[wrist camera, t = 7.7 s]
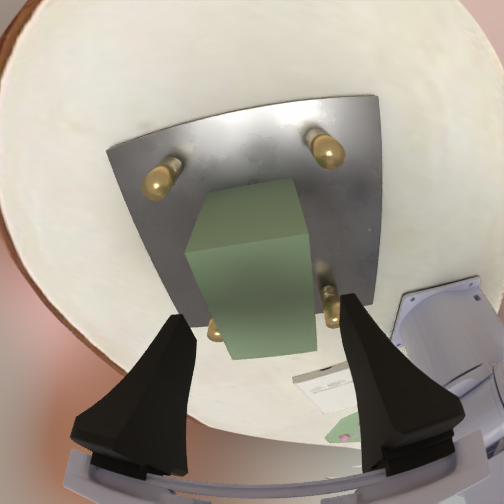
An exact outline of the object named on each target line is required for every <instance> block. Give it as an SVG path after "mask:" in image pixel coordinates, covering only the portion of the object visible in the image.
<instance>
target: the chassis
mask: <svg viewBox="0 0 504 504" xmlns="http://www.w3.org/2000/svg"><path fill="white" fill-rule="evenodd" d="M106 152H107V155H108V158H109V161H110V164H111V166H112V169H113V172H114V174H115V177H116V180H117V182H118V185H119V187H120V190H121V192H122V195H123V197H124V200H125V202H126V204H127V207H128V209H129V212H130V214H131V216H132V219H133V221H134V223H135V226H136V228H137V230H138V232H139V234H140V237H141V239H142V241H143V243H144V245H145V248H146V250H147V252H148V254H149V256H150V258H151V260H152V262H153V264H154V266H155V268H156V270H157V272H158V274H159V276H160V278H161V280H162V282H163V284H164V286H165V288H166V290H167V292H168V294H169V296H170V298H171V300H172V302H173V303H174V305H175V307H176V309H177V311H178V313H179V314H183V316H184V318H185V320H186V321H187V323H188V325H189V327H190V328H191V327H205V326H209V327H208V333H207V337H208V338H209V339H210V340H211V341H214V342H223V339H222V337H221V335H220V333H219V331H218V328H217V326H216V324H215V322H214V320H213V318H212V315H211V313H210V311H209V309H208V307H207V304H206V302H205V300H204V298H203V295H202V293H201V291H200V289H199V286H198V284H197V282H196V279H195V277H194V275H193V272H192V270H191V268H190V265H189V263H188V260H187V258H186V255H185V250H186V248H187V245H188V242H189V239H190V237H191V234H192V231H193V229H194V226H195V224H196V221H197V218H198V216H199V213H200V211H201V208H202V206H203V203H204V201H205V198H206V196H207V193H210V192H214V191H219V190H224V189H230V188H235V187H240V186H246V185H251V184H257V183H263V182H269V181H275V180H281V179H287V178H293V181H294V184H295V188H296V191H297V195H298V198H299V201H300V205H301V208H302V212H303V215H304V219H305V223H306V226H307V230H308V234H309V243H310V253H311V264H312V276H313V288H314V302H315V314H319V313H324V316H325V321H326V325H327V327H329V328H332V329H334V328H339V327H340V326H339V318H340V295H344V294H350V293H355V294H356V295H357V297H358V299H359V300H360V302H361V303H362V305H363V306H366V305H371V304H373V298H374V291H375V284H376V275H377V266H378V256H379V245H380V231H381V213H382V141H381V123H380V110H379V99H378V96H374V95H370V96H344V97H329V98H317V99H308V100H299V101H291V102H283V103H276V104H270V105H264V106H258V107H252V108H247V109H242V110H237V111H232V112H227V113H223V114H218V115H214V116H210V117H206V118H202V119H198V120H194V121H190V122H187V123H183V124H179V125H176V126H173V127H169V128H166V129H163V130H159V131H156V132H153V133H150V134H147V135H144V136H141V137H138V138H135V139H133V140H130V141H127V142H124V143H122V144H119V145H116V146H114V147H111V148H109V149H108V150H106Z"/></svg>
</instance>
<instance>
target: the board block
mask: <svg viewBox="0 0 504 504" xmlns="http://www.w3.org/2000/svg"><path fill="white" fill-rule="evenodd" d="M185 255H186V258H187V260H188V263H189V265H190V268H191V270H192V272H193V275H194V277H195V279H196V282H197V284H198V286H199V289H200V291H201V293H202V295H203V298H204V300H205V302H206V304H207V307H208V309H209V311H210V313H211V315H212V318H213V320H214V322H215V324H216V326H217V328H218V331H219V333H220V335H221V337H222V339H223V341H224V343H225V345H226V347H227V349H228V352H229V354H230V356H231V358H232V360H239V359H252V358H263V357H273V356H282V355H290V354H298V353H305V352H312V351H317V337H316V318H315V302H314V288H313V276H312V264H311V253H310V243H309V234H308V230H307V226H306V223H305V219H304V215H303V212H302V208H301V205H300V201H299V198H298V195H297V191H296V188H295V184H294V181H293V178H287V179H281V180H275V181H269V182H263V183H257V184H251V185H246V186H240V187H235V188H230V189H224V190H219V191H214V192H210V193H207V196H206V198H205V201H204V203H203V206H202V208H201V211H200V213H199V216H198V218H197V221H196V224H195V226H194V229H193V231H192V234H191V237H190V239H189V242H188V245H187V248H186V250H185Z"/></svg>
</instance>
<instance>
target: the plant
mask: <svg viewBox="0 0 504 504" xmlns="http://www.w3.org/2000/svg"><path fill="white" fill-rule="evenodd" d="M325 439H326V440H327V441H328V442H329V443H346V442H361V435H360V424H359V415H358V412H356V413H354V414H351V415H349V416H347V417H345V418H343V419H341V420H340V421H339V422H338V423H337V425H336V426H335V427H334V428H333V429H332V430H331V431H330V432H329V433H328V434H327V436H326V437H325Z"/></svg>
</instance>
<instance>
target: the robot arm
mask: <svg viewBox="0 0 504 504" xmlns="http://www.w3.org/2000/svg"><path fill="white" fill-rule="evenodd" d="M480 282H481V279H480V277H474V278H470V279H467V280H463V281H459V282H455V283H451V284H447V285H443V286H439V287H435V288H431V289H427V290H422V291H418V292H414V293H409V294H406V295H404V296H403V298H402V301H401V305H400V309H399V313H398V316H397V320H396V324H395V327H394V331H393V334H392V338H391V341H390V340H389V338H388V337H387V336H386V335H385V334H384V333H383V331H382V330H381V329H380V328H379V326H378V325H377V324H376V323H375V321H374V320H373V319H372V317H371V316H370V315H369V313H368V312H367V310H366V309H365V308H364V306H363V305H362V303H361V302H360V300H359V299H358V297H357V295H356V294H355V293H350V294H344V295H340V318H339V326H340V332H341V338H342V343H343V347H344V351H345V354H346V358H347V362H348V365H349V369H350V372H351V376H352V380H353V384H354V388H355V393H356V399H357V407H358V415H359V424H360V435H361V450H362V471H363V473H362V474H358V475H353V476H348V477H342V478H336V479H329V480H322V481H314V482H306V483H305V482H304V483H292V484H274V485H238V484H219V483H208V482H198V481H190V480H183V479H176V478H170V477H164V476H163V475H167V476H170V475H176V476H185V475H186V474H187V473H188V468H187V456H186V417H187V404H188V397H189V392H190V386H191V381H192V376H193V371H194V366H195V360H196V347H197V339H196V338H195V336H194V334H193V332H192V331H191V329H190V327H189V325H188V323H187V321H186V320H185V318H184V316H183V314H175V315H171V316H170V317H169V318H168V320H167V321H166V323H165V324H164V325H163V327H162V328H161V330H160V331H159V333H158V334H157V336H156V337H155V339H154V340H153V342H152V343H151V344H150V346H149V347H148V349H147V350H146V351H145V353H144V354H143V355H142V357H141V358H140V359H139V361H138V362H137V363H136V365H135V366H134V367H133V368H132V369H131V371H130V372H129V373H128V374H127V375H126V376H125V377H124V378H123V379H122V380H121V381H120V383H118V384H117V385H116V386H115V387H114V388H113V389H112V390H111V391H110V392H109V393H108V394H107V395H106V396H104V397H103V398H102V399H101V400H100V401H98V402H97V403H96V404H95V405H93V406H92V407H90V408H89V409H88V410H86V411H84V412H83V413H81V414H80V415H79V416H77V417H76V419H75V422H74V426H73V428H72V432H71V435H70V438H71V439H72V440H73V441H74V442H76V443H77V444H79V445H81V446H83V447H85V448H87V449H89V450H90V451H92V452H93V454H92V456H91V455H88V454H86V453H83V452H81V451H78V450H75V449H71V453H70V457H69V460H68V465H67V469H66V473H65V478H64V482H63V486H64V487H66V488H67V489H69V490H71V491H73V492H75V493H77V494H79V495H81V496H83V497H85V498H87V499H89V500H91V501H93V502H95V503H97V504H211V501H206V500H200V499H194V498H189V497H183V496H178V495H177V494H176V493H175V492H174V491H178V492H184V493H190V494H198V495H206V496H216V497H230V498H291V497H303V496H313V495H322V494H329V493H336V492H342V491H347V490H353V489H357V490H356V491H355V493H354V494H348V495H343V496H337V497H332V498H325V499H322V500H321V504H439V503H441V502H443V501H445V500H447V499H449V498H451V497H453V496H455V495H458V496H462V497H464V498H465V501H466V504H504V326H503V324H502V322H501V320H500V318H499V317H498V315H497V313H496V312H495V310H494V308H493V307H492V305H491V304H490V302H489V301H488V299H487V297H486V296H485V294H484V293H483V291H482V290H481V288H480V287H479V285H480ZM401 346H405V349H406V351H407V354H408V357H409V359H408V358H407V357H406V356H405V355H404V354H403V353H402V352H401V351H400V350H399V349H398V348H397V347H401ZM358 488H359V489H358Z"/></svg>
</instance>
